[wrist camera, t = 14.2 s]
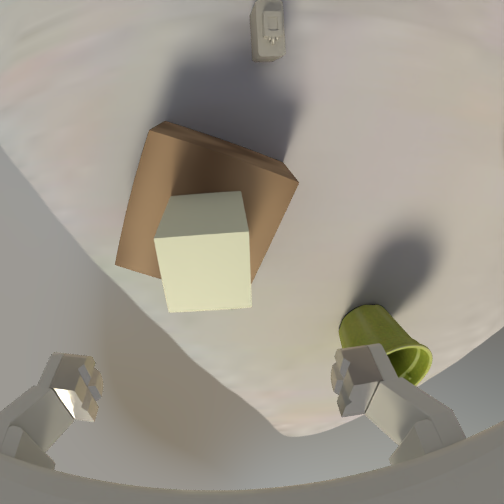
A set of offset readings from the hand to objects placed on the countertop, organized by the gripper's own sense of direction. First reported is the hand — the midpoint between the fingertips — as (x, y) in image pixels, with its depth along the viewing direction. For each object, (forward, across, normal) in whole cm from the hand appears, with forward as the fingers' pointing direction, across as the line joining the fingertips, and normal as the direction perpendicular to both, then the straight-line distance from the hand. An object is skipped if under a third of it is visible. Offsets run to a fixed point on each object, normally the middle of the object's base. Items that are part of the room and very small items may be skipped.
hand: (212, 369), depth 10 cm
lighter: (+19, -3, -14) cm, 24 cm away
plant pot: (+19, -15, +16) cm, 29 cm away
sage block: (+13, +1, +1) cm, 13 cm away
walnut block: (+19, +1, +1) cm, 19 cm away
